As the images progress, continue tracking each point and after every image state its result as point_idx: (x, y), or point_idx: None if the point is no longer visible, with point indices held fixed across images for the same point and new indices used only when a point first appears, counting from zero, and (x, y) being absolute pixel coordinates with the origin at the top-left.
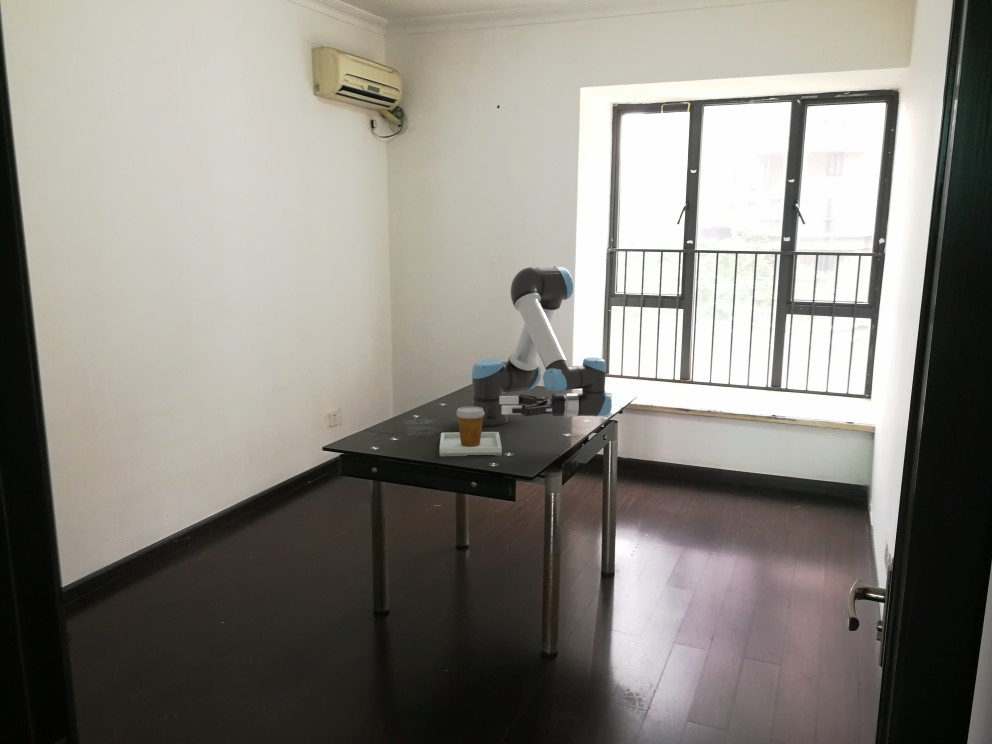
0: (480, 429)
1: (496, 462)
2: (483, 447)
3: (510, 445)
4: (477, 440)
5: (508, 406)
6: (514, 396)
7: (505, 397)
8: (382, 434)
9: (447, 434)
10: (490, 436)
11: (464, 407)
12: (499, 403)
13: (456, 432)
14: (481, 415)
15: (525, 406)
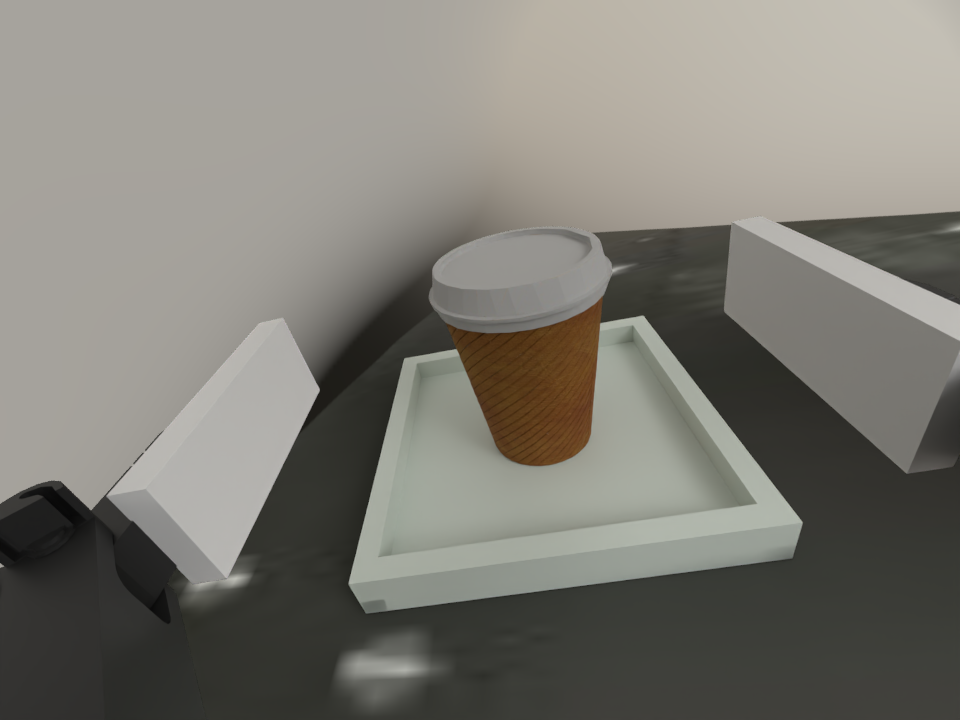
0: (504, 399)
1: (242, 593)
2: (385, 484)
3: (628, 670)
4: (501, 438)
5: (228, 364)
6: (883, 301)
7: (773, 259)
8: (651, 247)
9: (636, 335)
10: (735, 493)
11: (573, 233)
12: (732, 304)
13: (667, 348)
14: (460, 320)
15: (73, 563)
